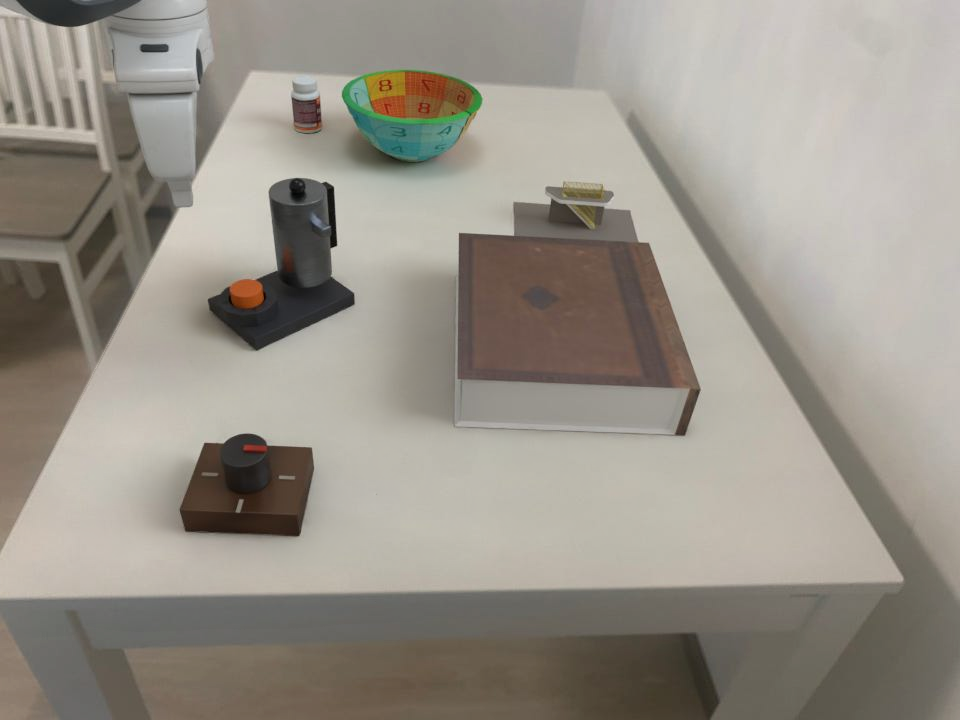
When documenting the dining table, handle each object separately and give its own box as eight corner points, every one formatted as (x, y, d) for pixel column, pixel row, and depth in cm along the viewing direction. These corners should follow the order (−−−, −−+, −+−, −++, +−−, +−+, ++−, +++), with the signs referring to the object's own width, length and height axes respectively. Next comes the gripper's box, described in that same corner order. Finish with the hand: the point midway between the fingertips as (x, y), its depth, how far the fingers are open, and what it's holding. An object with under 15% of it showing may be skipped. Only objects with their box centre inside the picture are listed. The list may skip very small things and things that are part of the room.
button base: (250, 353, 86) (246, 328, 84) (203, 312, 91) (199, 288, 89) (354, 304, 95) (354, 280, 93) (306, 269, 100) (304, 246, 98)
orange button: (242, 313, 87) (240, 300, 86) (225, 299, 89) (223, 286, 88) (270, 301, 89) (268, 289, 88) (252, 287, 91) (250, 275, 90)
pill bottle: (324, 132, 132) (321, 84, 127) (297, 135, 131) (292, 86, 125) (318, 121, 136) (315, 73, 130) (291, 123, 134) (287, 75, 129)
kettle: (308, 301, 89) (299, 205, 81) (267, 271, 93) (255, 176, 85) (360, 278, 93) (357, 184, 85) (319, 250, 97) (312, 157, 89)
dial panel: (184, 532, 67) (178, 509, 65) (209, 463, 74) (204, 440, 72) (299, 537, 68) (296, 514, 66) (314, 467, 74) (312, 445, 72)
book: (638, 285, 103) (649, 242, 98) (685, 435, 81) (700, 389, 77) (456, 276, 101) (458, 232, 97) (454, 426, 80) (457, 379, 76)
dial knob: (220, 492, 67) (213, 463, 65) (231, 459, 70) (225, 429, 68) (266, 494, 67) (261, 465, 65) (275, 461, 70) (271, 431, 68)
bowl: (316, 148, 127) (312, 88, 121) (413, 115, 141) (414, 59, 134) (409, 198, 117) (410, 135, 110) (505, 156, 130) (511, 98, 124)
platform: (641, 251, 109) (650, 210, 105) (515, 242, 109) (520, 200, 105) (629, 210, 119) (638, 171, 114) (513, 201, 118) (518, 162, 114)
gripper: (130, 5, 76) (156, 139, 84) (111, 81, 61) (145, 234, 69) (198, 6, 77) (217, 137, 86) (196, 79, 62) (219, 229, 71)
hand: (185, 181), depth 77 cm, fingers open, 8 cm apart
